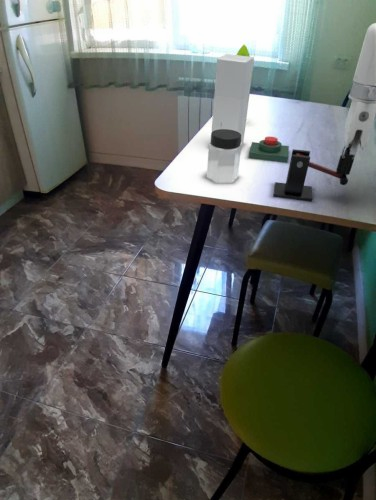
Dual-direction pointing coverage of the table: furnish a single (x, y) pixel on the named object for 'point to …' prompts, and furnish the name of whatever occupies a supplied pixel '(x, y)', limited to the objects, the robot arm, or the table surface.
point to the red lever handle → (329, 172)
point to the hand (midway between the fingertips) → (342, 172)
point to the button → (270, 141)
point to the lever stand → (295, 179)
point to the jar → (224, 156)
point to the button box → (269, 152)
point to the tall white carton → (232, 93)
